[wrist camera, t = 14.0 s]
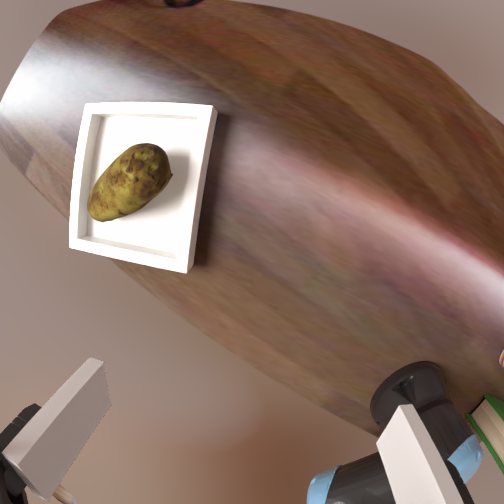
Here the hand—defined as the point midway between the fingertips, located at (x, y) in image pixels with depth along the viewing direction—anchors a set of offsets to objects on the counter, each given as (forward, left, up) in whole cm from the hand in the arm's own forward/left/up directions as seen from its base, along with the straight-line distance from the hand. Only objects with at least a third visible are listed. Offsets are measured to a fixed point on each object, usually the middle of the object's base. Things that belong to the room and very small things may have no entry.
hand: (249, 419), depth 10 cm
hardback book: (-30, -67, -27) cm, 78 cm away
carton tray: (+7, +17, -27) cm, 33 cm away
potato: (+7, +17, -26) cm, 32 cm away
